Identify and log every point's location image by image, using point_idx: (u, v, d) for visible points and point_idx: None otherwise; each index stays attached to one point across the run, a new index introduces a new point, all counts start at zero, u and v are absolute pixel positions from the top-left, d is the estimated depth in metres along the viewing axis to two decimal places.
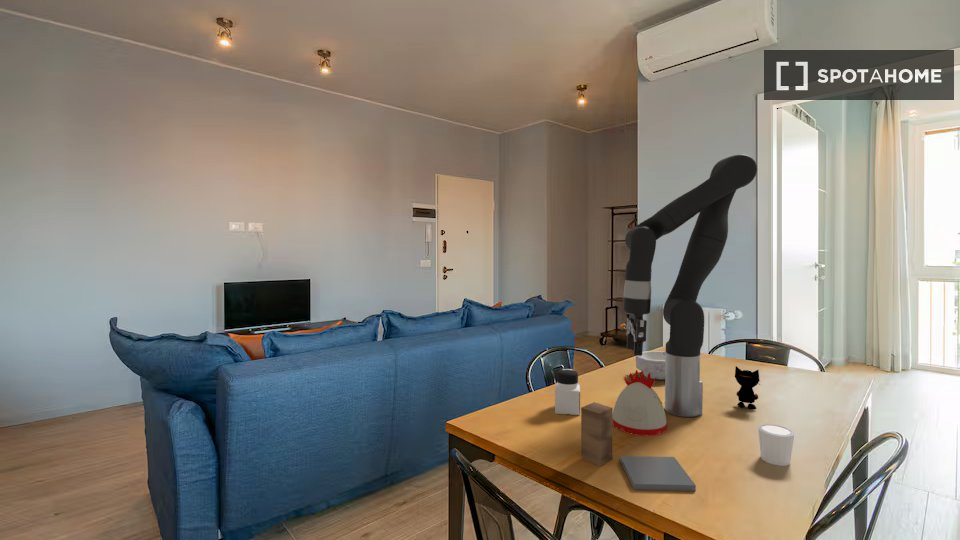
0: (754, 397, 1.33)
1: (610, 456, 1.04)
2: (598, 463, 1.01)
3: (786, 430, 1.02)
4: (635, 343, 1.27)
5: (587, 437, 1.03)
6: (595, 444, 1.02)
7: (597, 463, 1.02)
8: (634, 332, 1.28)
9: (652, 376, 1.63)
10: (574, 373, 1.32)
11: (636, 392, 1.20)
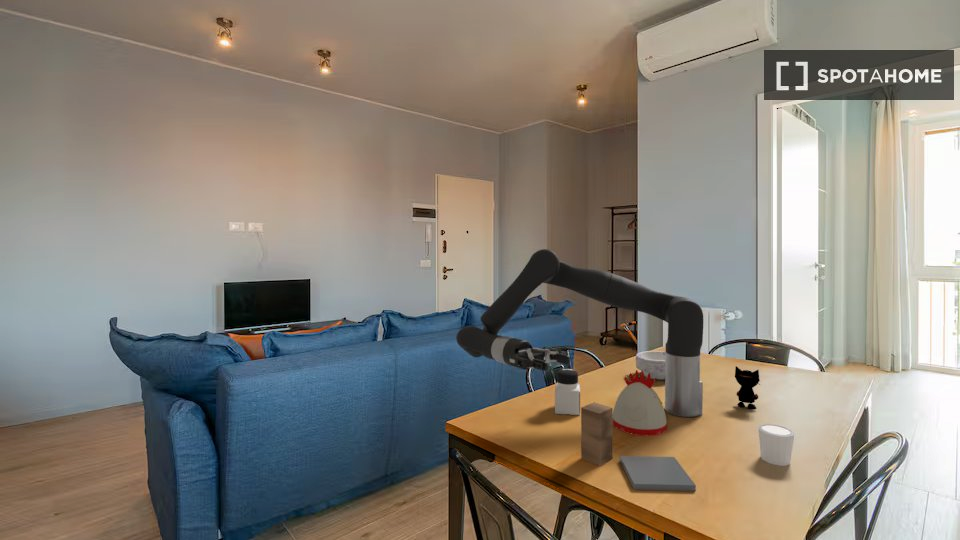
0: (754, 397, 1.33)
1: (610, 456, 1.04)
2: (598, 463, 1.01)
3: (786, 430, 1.02)
4: (535, 367, 1.11)
5: (587, 437, 1.03)
6: (595, 444, 1.02)
7: (597, 463, 1.02)
8: None
9: (652, 376, 1.63)
10: (574, 373, 1.32)
11: (636, 392, 1.20)
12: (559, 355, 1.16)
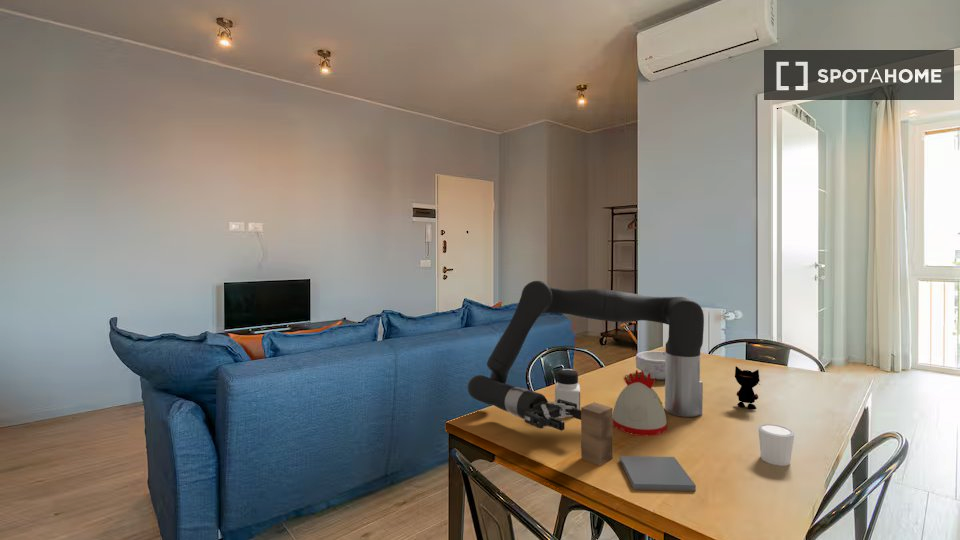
0: (754, 397, 1.33)
1: (610, 456, 1.04)
2: (598, 463, 1.01)
3: (786, 430, 1.02)
4: None
5: (587, 437, 1.03)
6: (595, 444, 1.02)
7: (597, 463, 1.02)
8: None
9: (652, 376, 1.63)
10: (574, 373, 1.32)
11: (636, 392, 1.20)
12: (575, 410, 1.14)
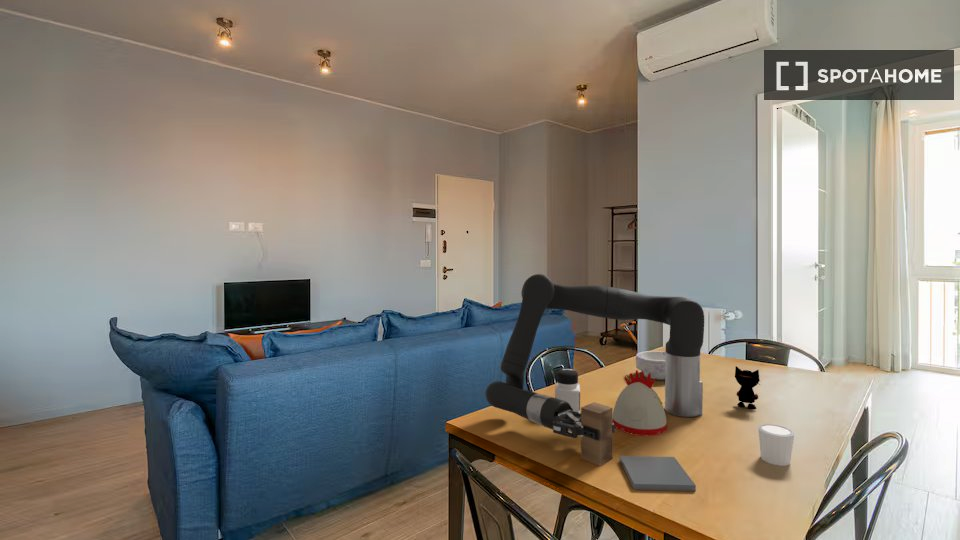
0: (754, 397, 1.33)
1: (610, 456, 1.04)
2: (598, 463, 1.01)
3: (786, 430, 1.02)
4: (586, 435, 1.03)
5: (587, 437, 1.03)
6: (595, 444, 1.02)
7: (597, 463, 1.02)
8: None
9: (652, 376, 1.63)
10: (574, 373, 1.32)
11: (636, 392, 1.20)
12: None
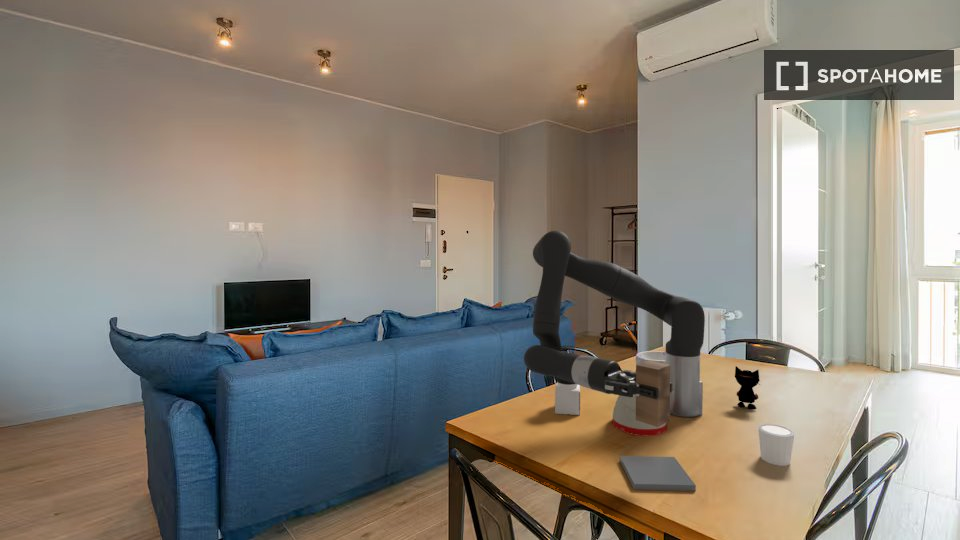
0: (754, 397, 1.33)
1: (667, 418, 0.96)
2: (656, 424, 0.93)
3: (786, 430, 1.02)
4: (642, 394, 0.95)
5: (643, 397, 0.95)
6: (652, 404, 0.94)
7: (655, 424, 0.94)
8: None
9: None
10: None
11: None
12: None
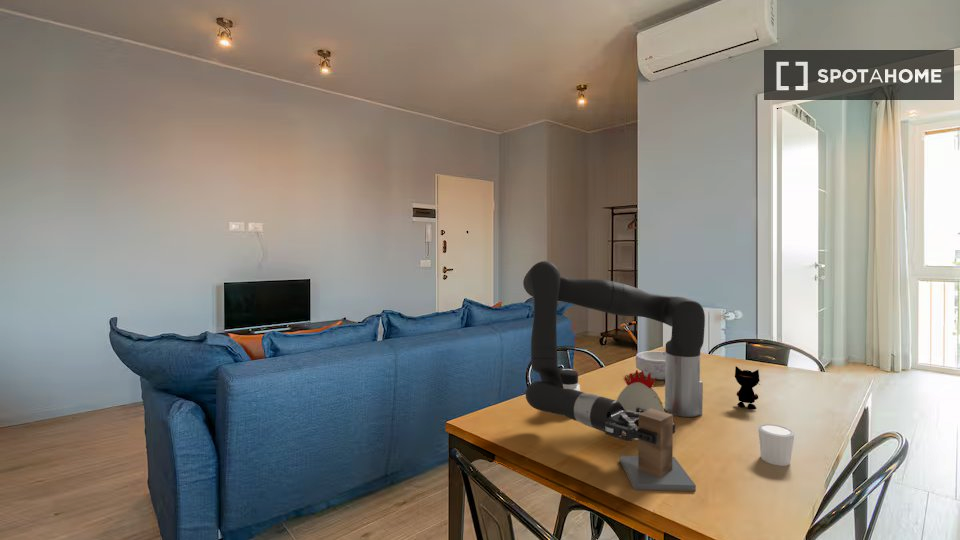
0: (754, 397, 1.33)
1: (670, 467, 0.96)
2: (658, 475, 0.94)
3: (786, 430, 1.02)
4: (641, 438, 0.95)
5: (645, 447, 0.96)
6: (655, 454, 0.94)
7: (657, 475, 0.94)
8: None
9: (652, 376, 1.63)
10: (574, 373, 1.32)
11: (636, 392, 1.20)
12: None
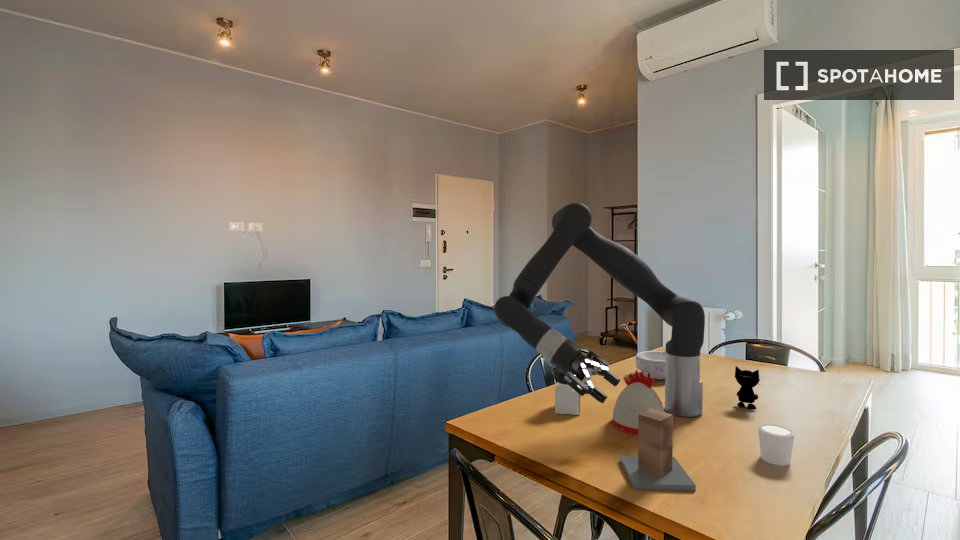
0: (754, 397, 1.33)
1: (670, 467, 0.96)
2: (658, 475, 0.94)
3: (786, 430, 1.02)
4: None
5: (645, 447, 0.96)
6: (655, 454, 0.94)
7: (657, 475, 0.94)
8: None
9: (652, 376, 1.63)
10: None
11: (636, 392, 1.20)
12: (609, 375, 1.14)
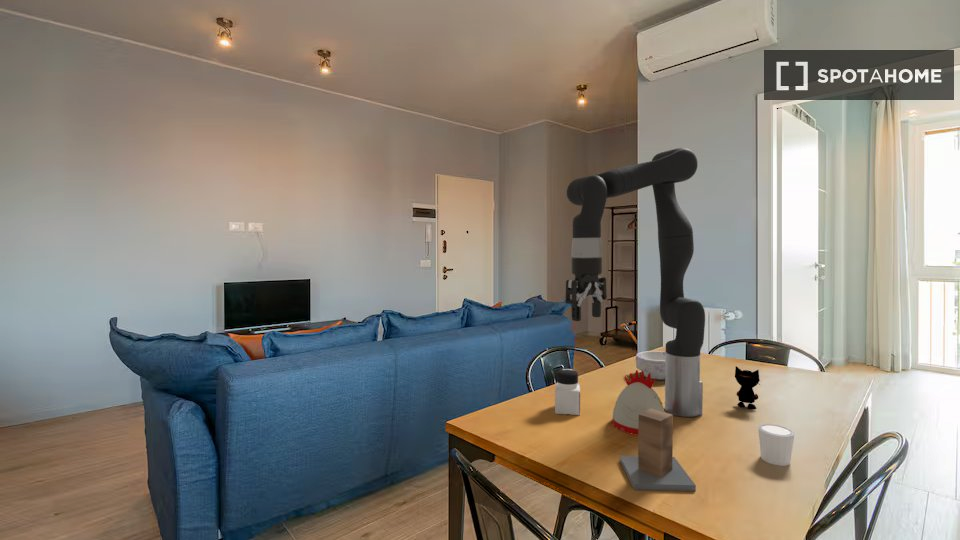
0: (754, 397, 1.33)
1: (670, 467, 0.96)
2: (658, 475, 0.94)
3: (786, 430, 1.02)
4: None
5: (645, 447, 0.96)
6: (655, 454, 0.94)
7: (657, 475, 0.94)
8: None
9: (652, 376, 1.63)
10: (574, 373, 1.32)
11: (636, 392, 1.20)
12: (598, 306, 1.19)
